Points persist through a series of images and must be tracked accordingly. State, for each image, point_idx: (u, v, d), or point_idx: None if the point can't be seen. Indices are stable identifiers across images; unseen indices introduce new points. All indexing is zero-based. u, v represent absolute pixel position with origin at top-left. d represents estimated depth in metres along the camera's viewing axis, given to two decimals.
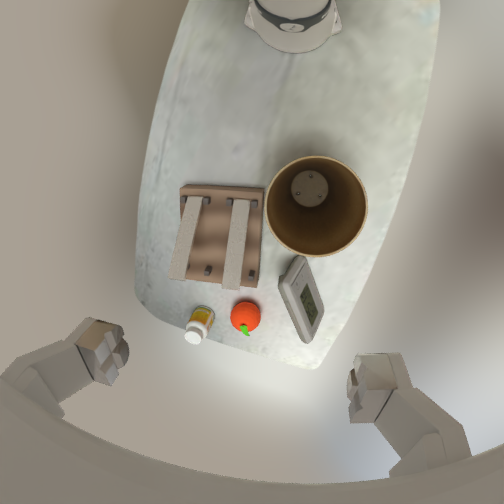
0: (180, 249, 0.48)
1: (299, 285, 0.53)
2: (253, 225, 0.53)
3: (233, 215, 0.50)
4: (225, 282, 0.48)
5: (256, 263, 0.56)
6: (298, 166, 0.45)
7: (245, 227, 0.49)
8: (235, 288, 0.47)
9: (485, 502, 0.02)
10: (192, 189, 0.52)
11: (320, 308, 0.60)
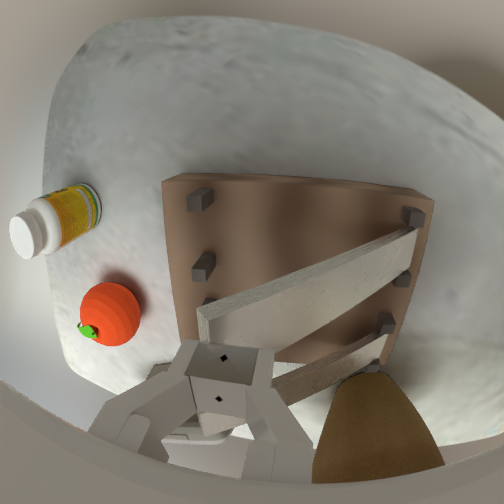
0: (321, 298, 0.11)
1: None
2: (324, 355, 0.23)
3: (364, 348, 0.19)
4: (216, 415, 0.14)
5: None
6: None
7: (338, 379, 0.19)
8: (207, 431, 0.15)
9: (485, 502, 0.02)
10: (425, 234, 0.18)
11: None
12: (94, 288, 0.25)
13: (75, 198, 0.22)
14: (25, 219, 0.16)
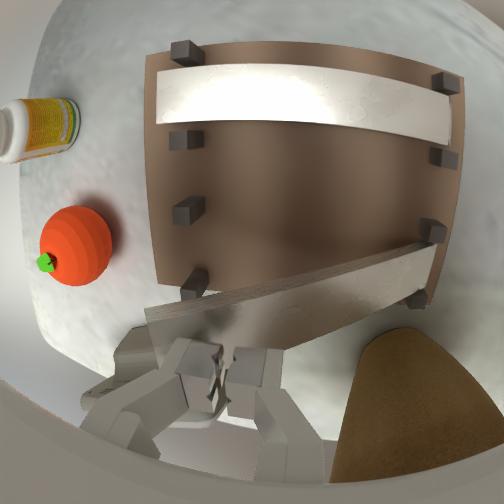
0: (257, 86, 0.12)
1: None
2: None
3: (412, 258, 0.13)
4: (180, 332, 0.08)
5: (232, 288, 0.19)
6: None
7: (380, 307, 0.13)
8: None
9: (485, 502, 0.02)
10: (462, 114, 0.12)
11: None
12: (59, 210, 0.19)
13: (52, 103, 0.16)
14: None
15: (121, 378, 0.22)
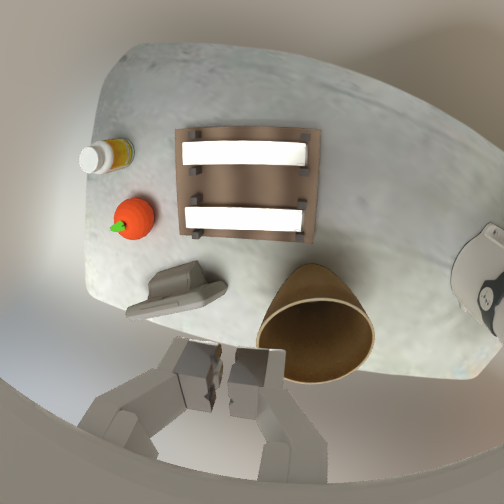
0: (221, 150, 0.34)
1: None
2: (268, 232, 0.40)
3: (280, 212, 0.37)
4: (192, 211, 0.38)
5: (214, 234, 0.41)
6: None
7: (264, 228, 0.38)
8: (187, 223, 0.39)
9: (485, 502, 0.02)
10: (318, 148, 0.34)
11: None
12: (126, 200, 0.41)
13: (120, 143, 0.38)
14: (94, 148, 0.33)
15: (153, 296, 0.45)
